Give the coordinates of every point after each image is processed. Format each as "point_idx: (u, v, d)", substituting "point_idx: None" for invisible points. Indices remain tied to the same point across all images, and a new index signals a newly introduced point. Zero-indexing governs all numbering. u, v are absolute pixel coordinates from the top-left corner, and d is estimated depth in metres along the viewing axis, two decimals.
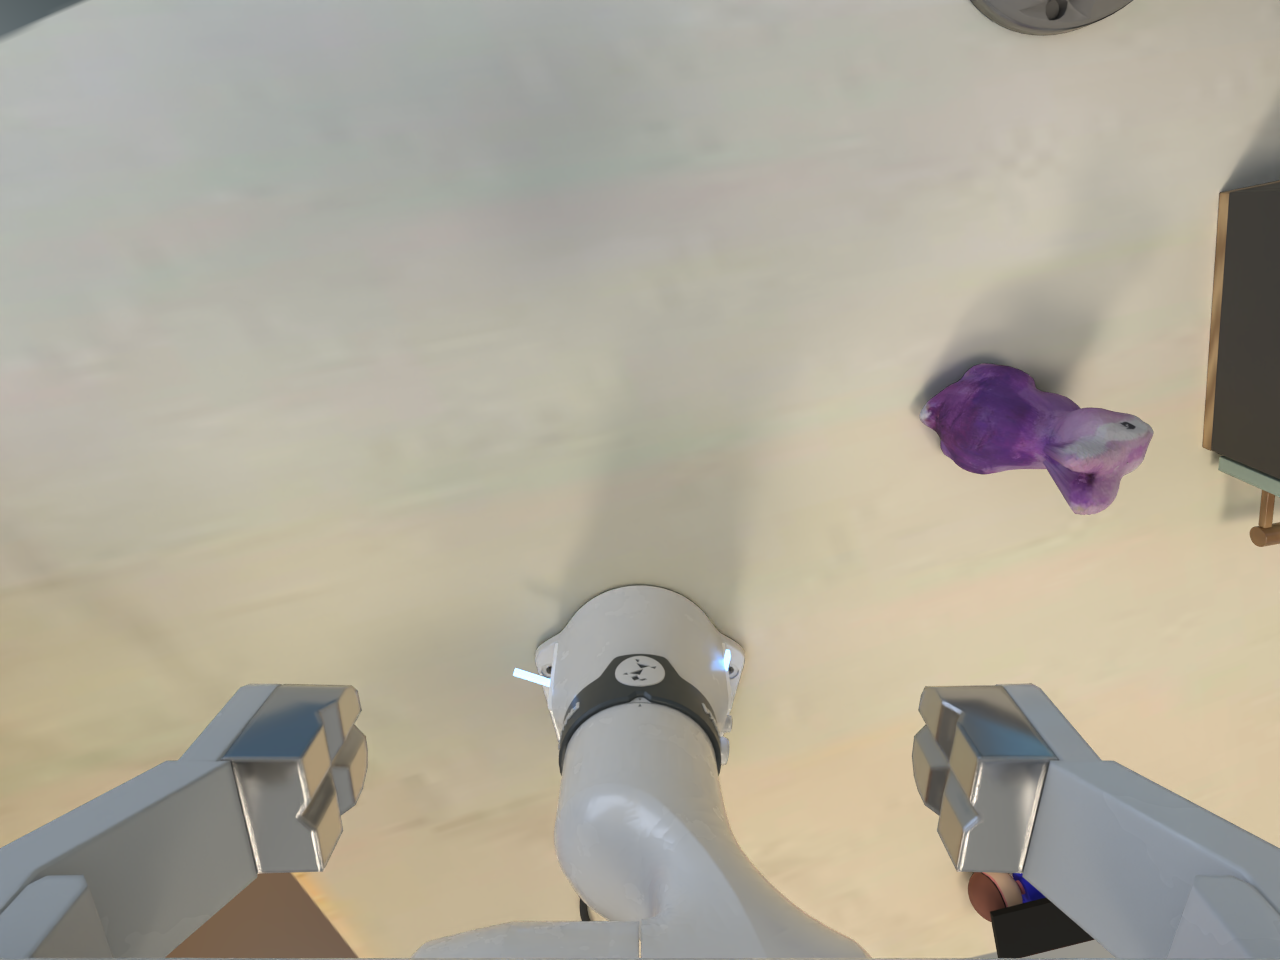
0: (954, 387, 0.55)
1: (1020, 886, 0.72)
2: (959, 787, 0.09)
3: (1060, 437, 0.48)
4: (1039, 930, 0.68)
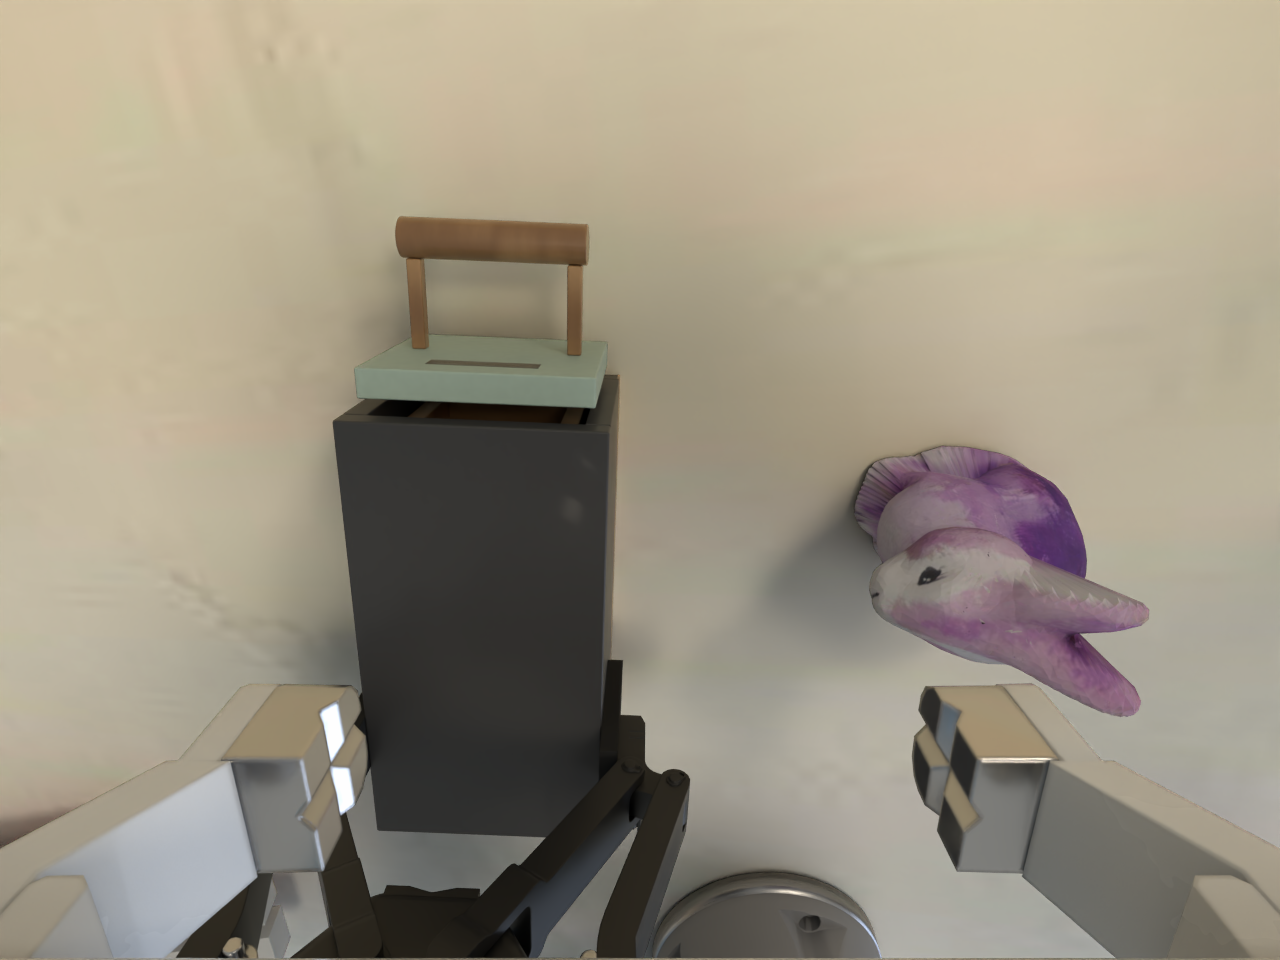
0: None
1: None
2: (959, 787, 0.09)
3: None
4: None
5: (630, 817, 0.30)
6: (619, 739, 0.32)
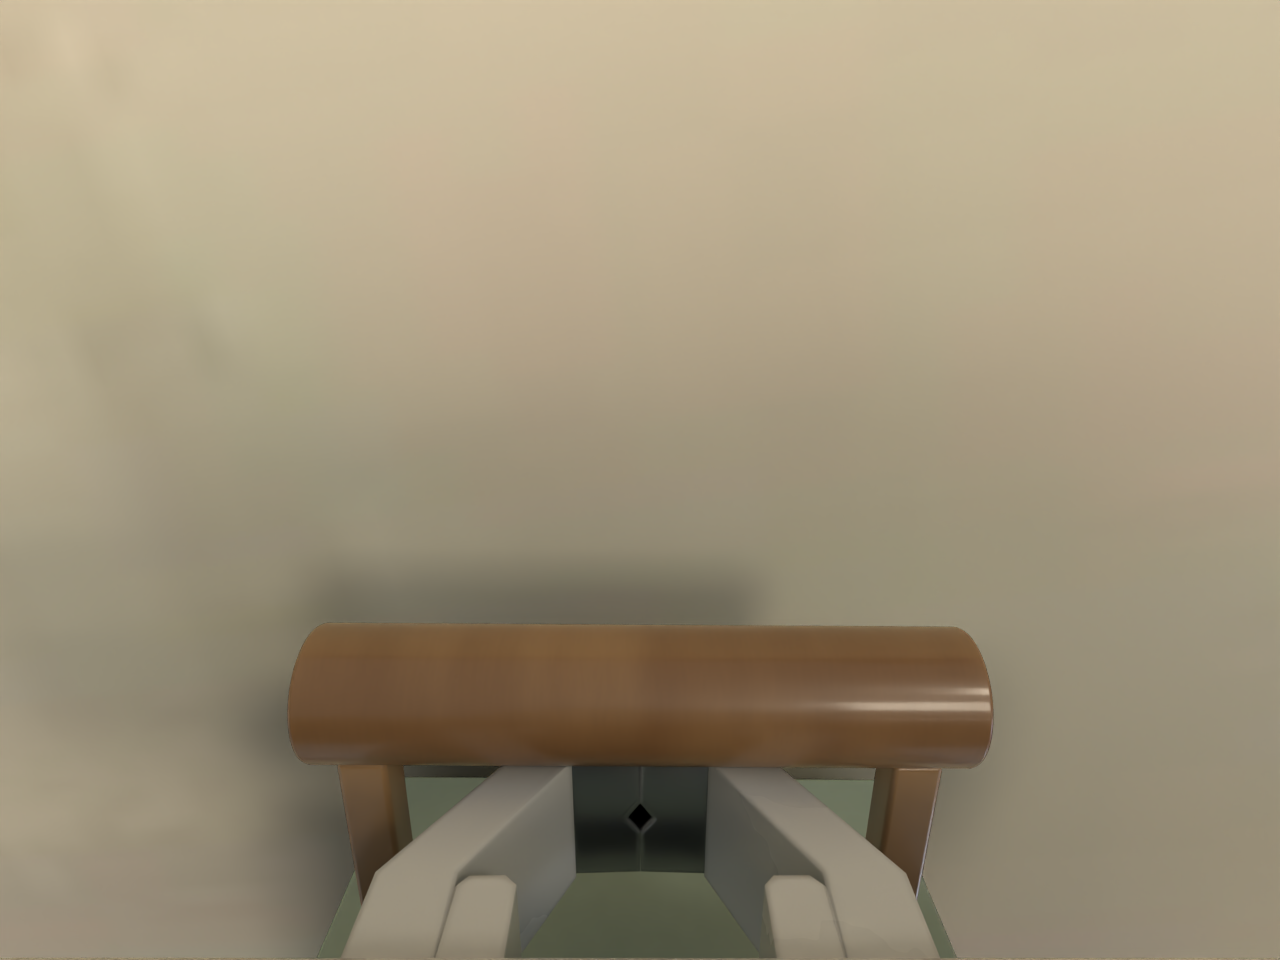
0: None
1: None
2: None
3: None
4: None
5: None
6: None
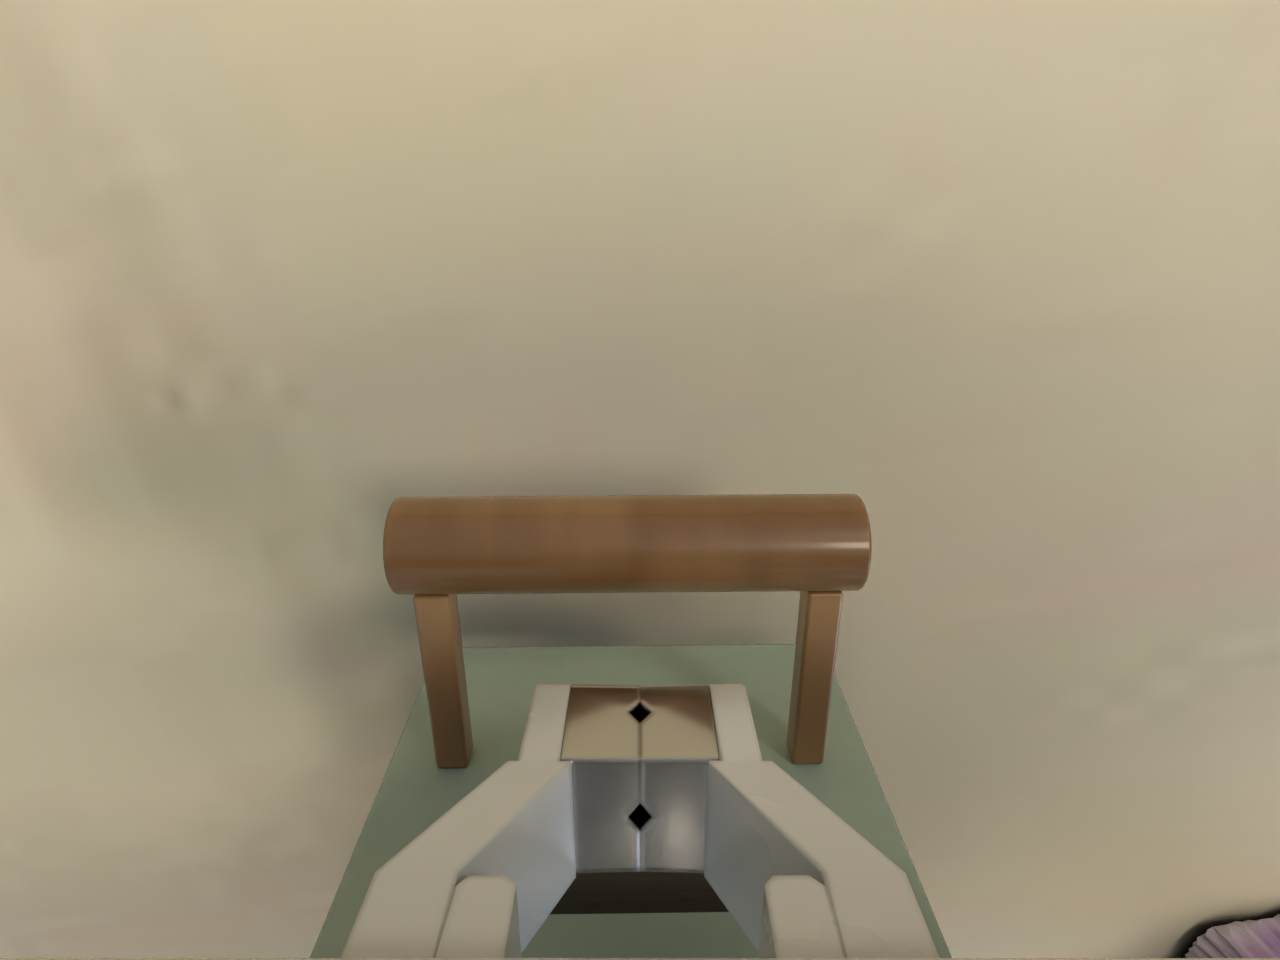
0: None
1: None
2: None
3: None
4: None
5: None
6: None
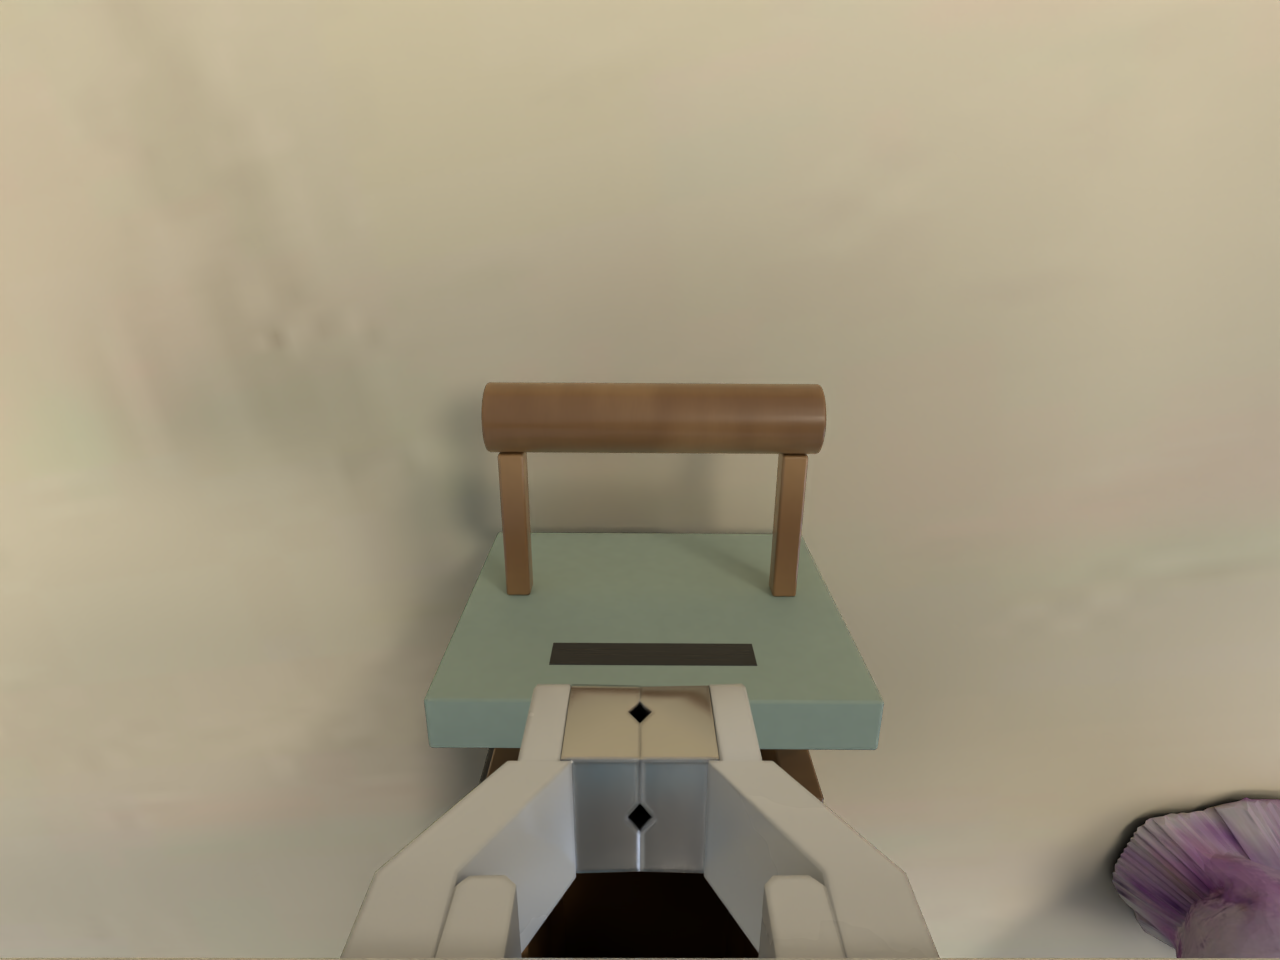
0: None
1: None
2: None
3: None
4: None
5: None
6: None
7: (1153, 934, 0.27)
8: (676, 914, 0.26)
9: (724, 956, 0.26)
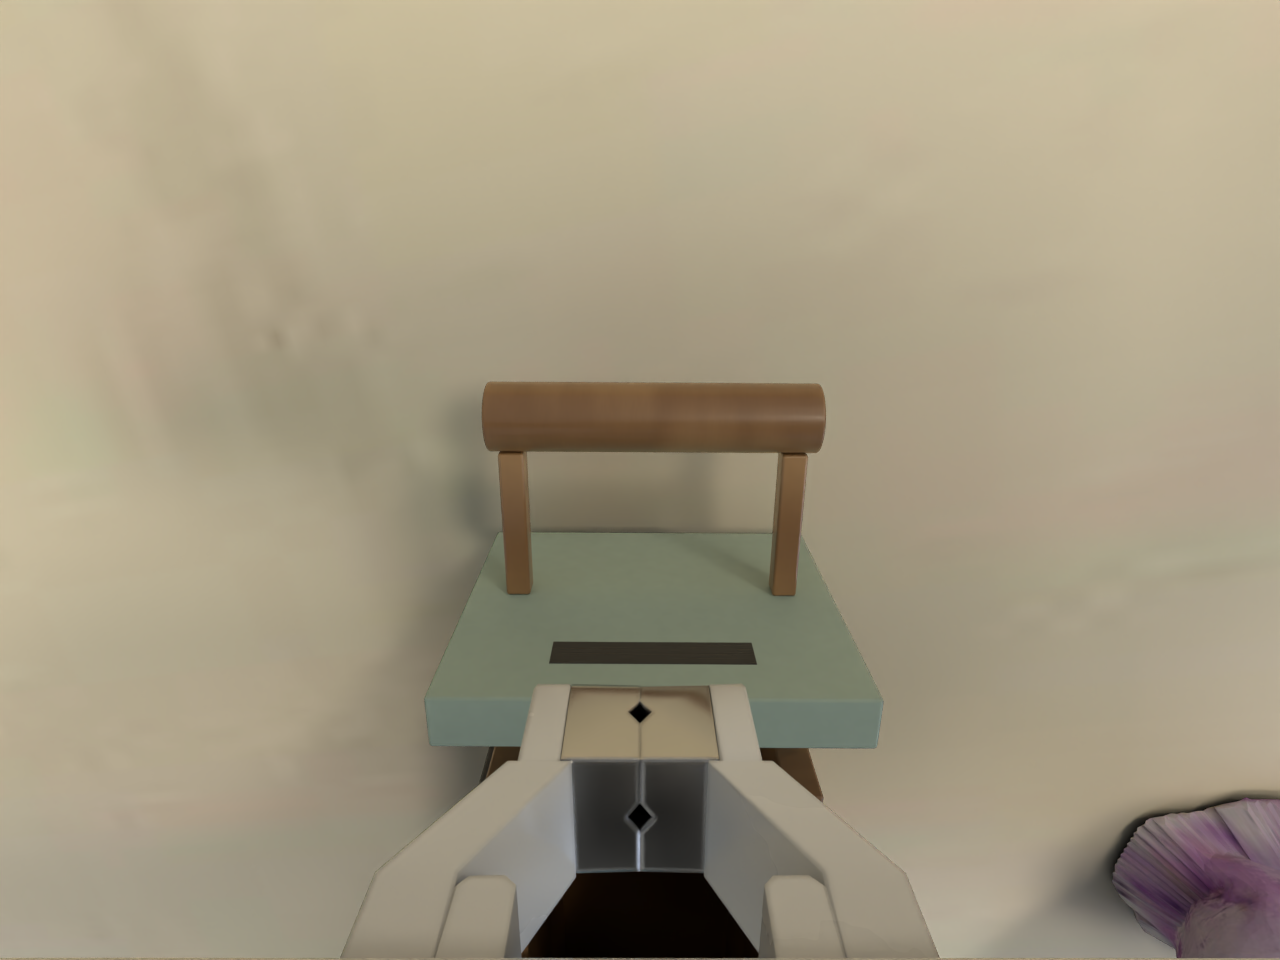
0: None
1: None
2: None
3: None
4: None
5: None
6: None
7: (1153, 934, 0.27)
8: (676, 914, 0.26)
9: (724, 956, 0.26)
